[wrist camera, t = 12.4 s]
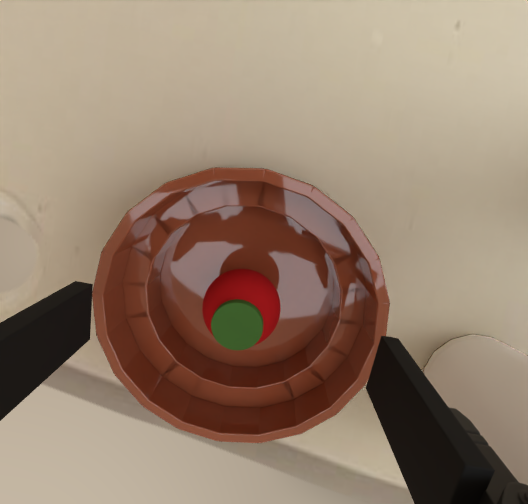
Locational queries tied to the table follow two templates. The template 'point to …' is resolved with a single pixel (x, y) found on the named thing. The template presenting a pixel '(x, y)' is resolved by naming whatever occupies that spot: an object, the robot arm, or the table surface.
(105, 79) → the table surface
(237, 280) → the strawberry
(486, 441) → the robot arm
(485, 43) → the table surface
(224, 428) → the bowl
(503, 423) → the foam cup
